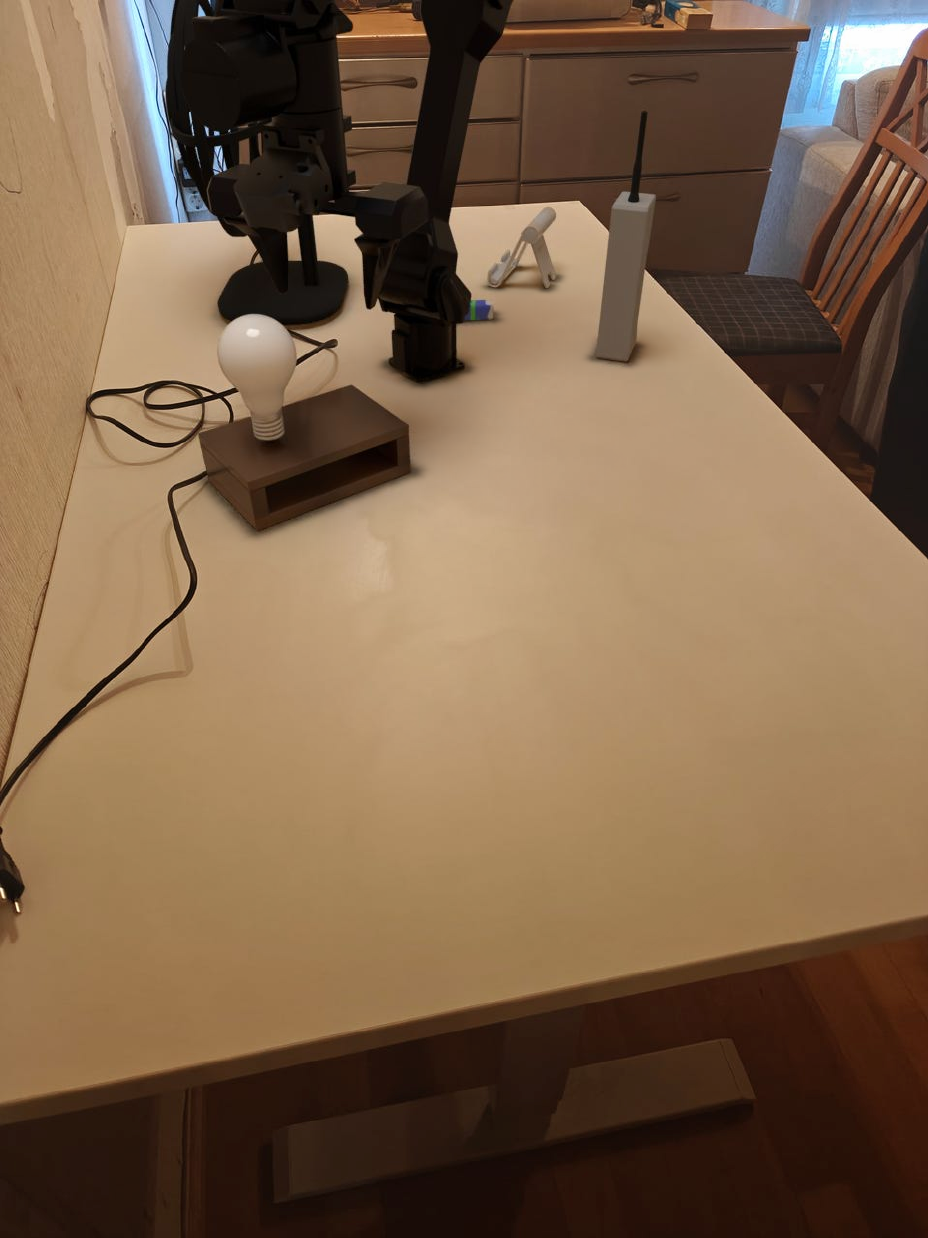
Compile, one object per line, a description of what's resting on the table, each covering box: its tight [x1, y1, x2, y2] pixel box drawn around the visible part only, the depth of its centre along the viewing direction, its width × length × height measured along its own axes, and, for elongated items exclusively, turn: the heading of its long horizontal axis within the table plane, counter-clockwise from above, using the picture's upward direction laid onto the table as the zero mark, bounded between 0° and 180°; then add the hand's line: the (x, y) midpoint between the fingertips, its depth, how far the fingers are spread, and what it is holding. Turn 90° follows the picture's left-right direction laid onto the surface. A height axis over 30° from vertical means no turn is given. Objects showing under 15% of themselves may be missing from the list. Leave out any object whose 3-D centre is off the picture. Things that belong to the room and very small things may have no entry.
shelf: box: [197, 384, 412, 532], centre depth 80 cm, size 16×10×5 cm, turn 127°
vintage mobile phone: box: [595, 110, 657, 363], centre depth 93 cm, size 4×5×25 cm
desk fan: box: [165, 0, 350, 326], centre depth 102 cm, size 27×18×35 cm, turn 0°
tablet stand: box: [486, 206, 557, 289], centre depth 116 cm, size 9×8×8 cm
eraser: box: [465, 298, 495, 321], centre depth 108 cm, size 2×6×2 cm, turn 98°
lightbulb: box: [216, 314, 298, 442], centre depth 73 cm, size 6×6×11 cm
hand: (326, 299), depth 80 cm, fingers open, 9 cm apart
